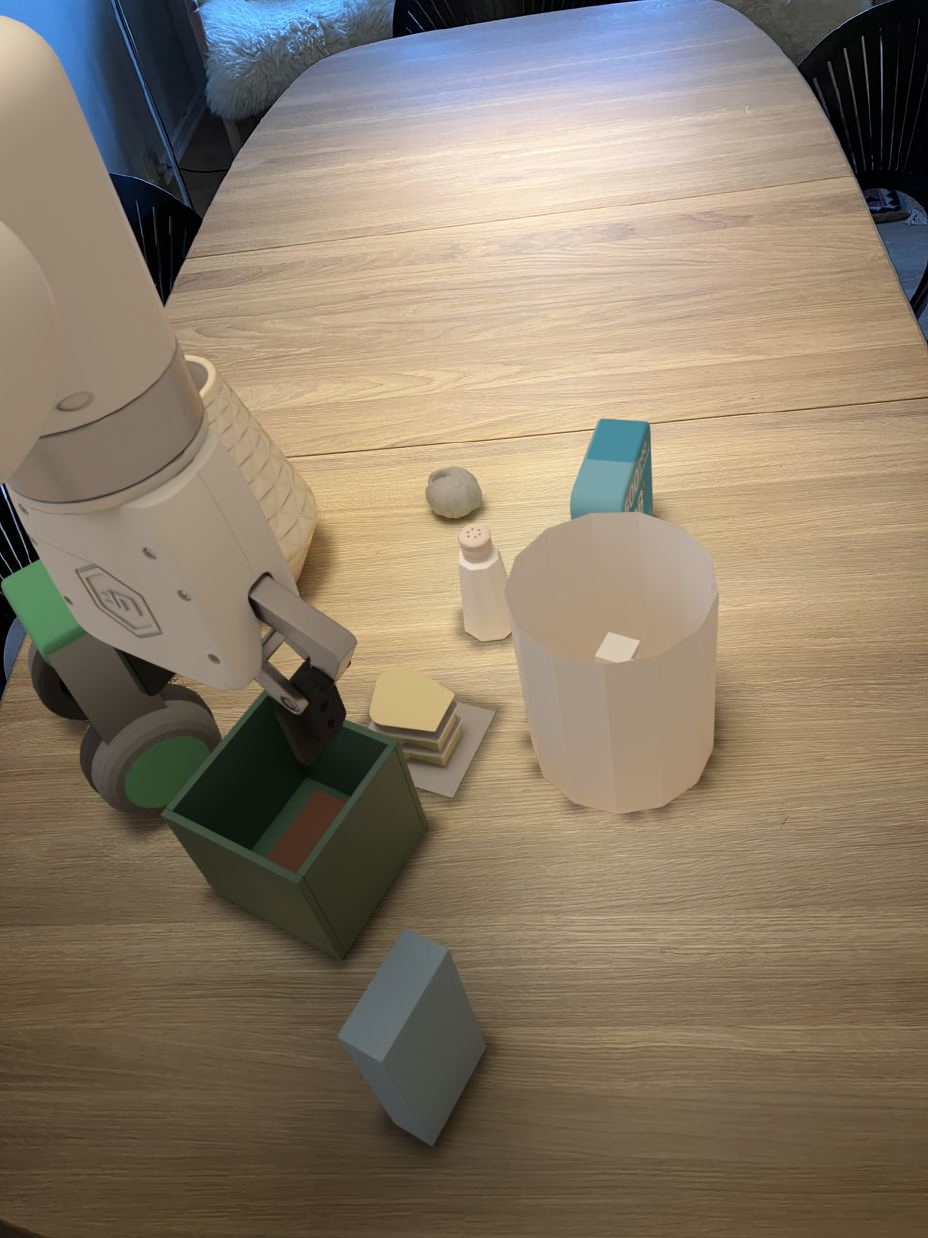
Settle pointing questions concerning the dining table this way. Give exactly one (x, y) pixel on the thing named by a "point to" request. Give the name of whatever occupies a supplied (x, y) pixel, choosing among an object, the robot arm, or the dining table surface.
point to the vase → (259, 464)
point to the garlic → (453, 492)
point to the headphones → (110, 704)
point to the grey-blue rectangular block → (415, 1035)
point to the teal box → (615, 470)
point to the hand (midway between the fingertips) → (242, 705)
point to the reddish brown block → (306, 831)
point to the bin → (271, 800)
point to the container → (617, 657)
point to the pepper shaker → (482, 585)
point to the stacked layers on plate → (428, 727)
